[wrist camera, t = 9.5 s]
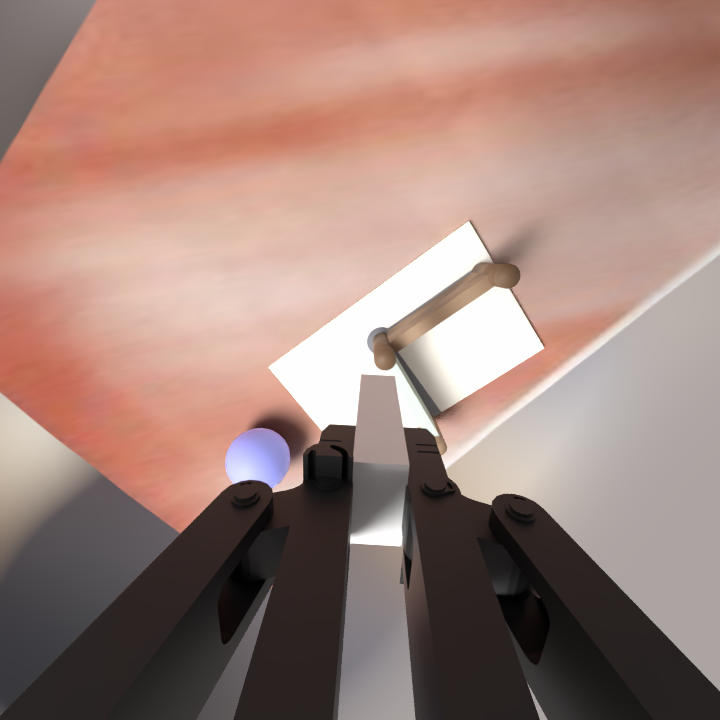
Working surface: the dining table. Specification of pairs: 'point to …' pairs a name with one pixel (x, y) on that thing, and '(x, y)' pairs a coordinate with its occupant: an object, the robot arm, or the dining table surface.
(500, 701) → the robot arm
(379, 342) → the fixed fence section
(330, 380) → the card
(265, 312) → the dining table surface
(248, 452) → the sphere
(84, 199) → the dining table surface
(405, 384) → the folding fence panel
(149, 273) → the dining table surface
